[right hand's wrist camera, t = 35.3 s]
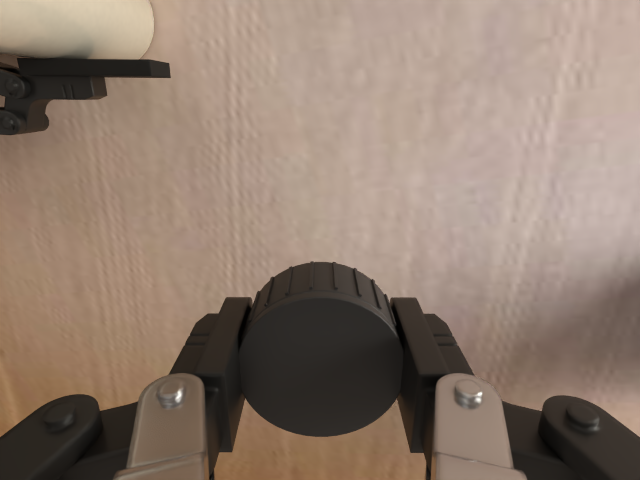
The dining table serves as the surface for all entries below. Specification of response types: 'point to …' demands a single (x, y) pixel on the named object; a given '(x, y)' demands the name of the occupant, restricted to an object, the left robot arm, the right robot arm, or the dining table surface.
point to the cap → (321, 351)
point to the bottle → (76, 28)
